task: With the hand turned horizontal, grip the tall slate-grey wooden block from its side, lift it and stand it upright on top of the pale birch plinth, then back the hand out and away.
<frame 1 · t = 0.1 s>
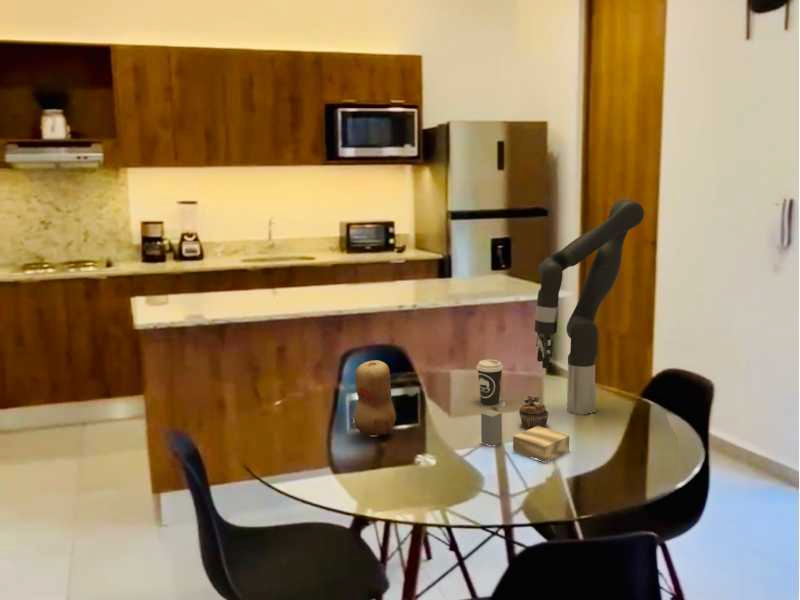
hand: (542, 364, 265), 17 cm above the table, tool pointing down, fingers open, 8 cm apart
cupcake: (533, 426, 256), on the table
butternut squash: (375, 436, 252), on the table
birch plinth: (541, 451, 235), on the table
grey block: (491, 443, 243), on the table
coffee cup: (489, 402, 280), on the table
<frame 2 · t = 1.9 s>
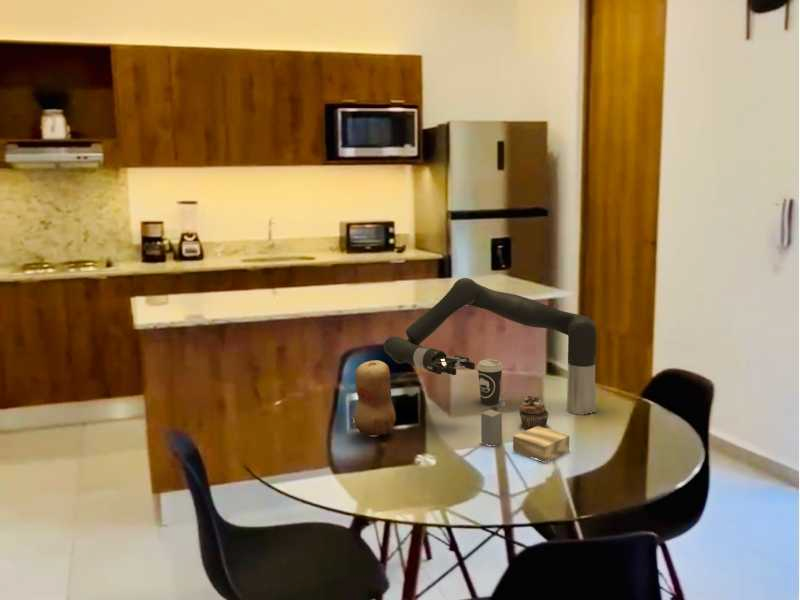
hand: (465, 369, 247), 22 cm above the table, tool horizontal, fingers open, 8 cm apart
nothing on the table moved.
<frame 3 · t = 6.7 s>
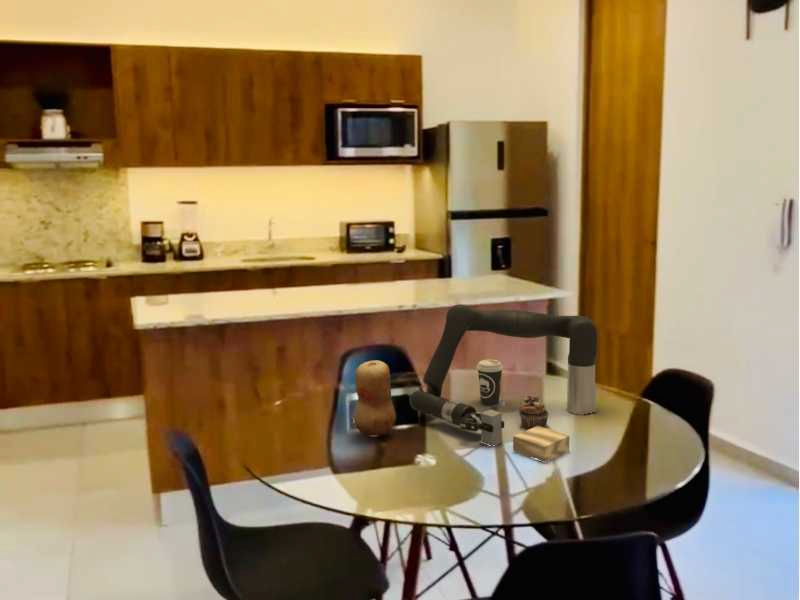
hand: (498, 427, 240), 6 cm above the table, tool horizontal, fingers closed on grey block, 4 cm apart
grey block: (491, 443, 243), on the table, touching gripper
everything else where it was.
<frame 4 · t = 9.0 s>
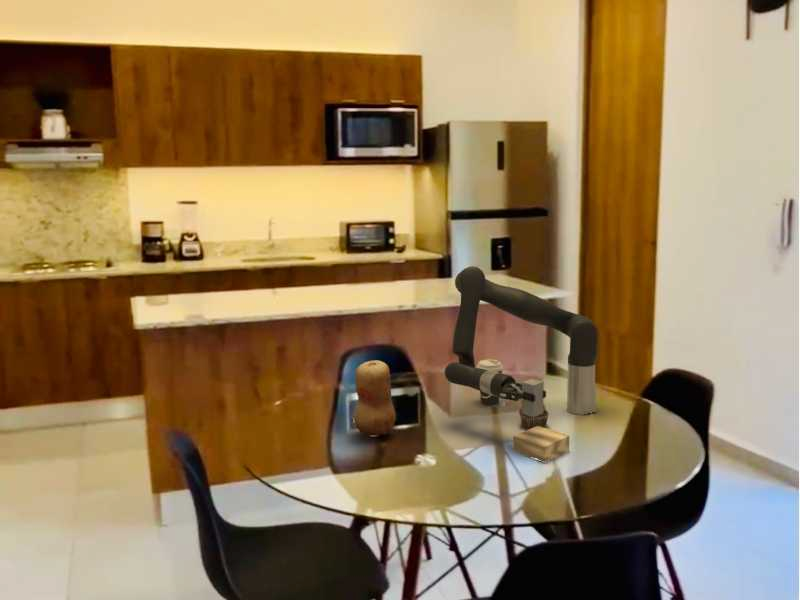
hand: (539, 396, 231), 18 cm above the table, tool horizontal, fingers closed on grey block, 4 cm apart
grey block: (532, 413, 234), point 12 cm above the table, touching gripper
everything else where it was.
when the fingers open (12 cm above the table, at t = 11.3 s): grey block drops 1 cm, resting on birch plinth.
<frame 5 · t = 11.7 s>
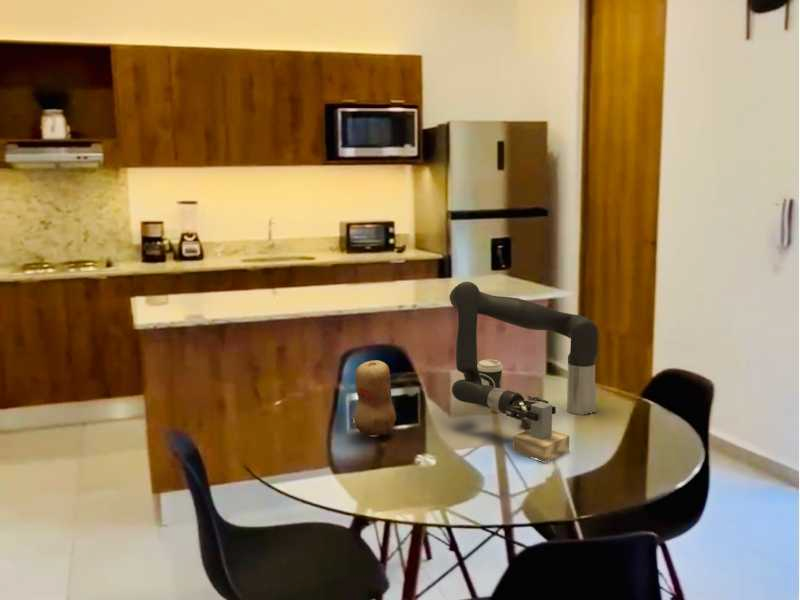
hand: (546, 414, 231), 13 cm above the table, tool horizontal, fingers open, 7 cm apart
grey block: (541, 436, 234), point 5 cm above the table, touching birch plinth
everything else where it was.
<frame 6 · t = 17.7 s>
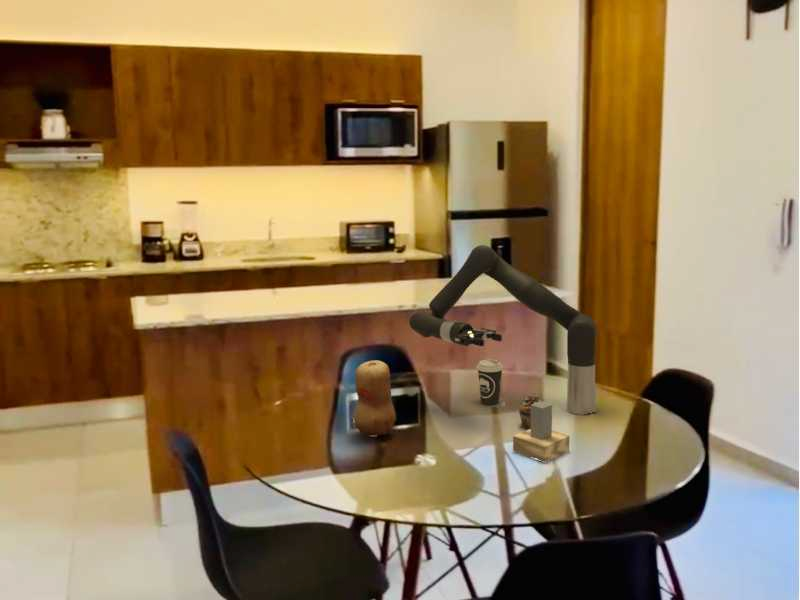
hand: (492, 340, 249), 30 cm above the table, tool horizontal, fingers open, 8 cm apart
nothing on the table moved.
at the end: grey block inside the target area on the birch plinth (0.0 cm from its centre), point 5.0 cm above the birch plinth's base; grey block tilted 0°; the gripper is holding nothing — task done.
